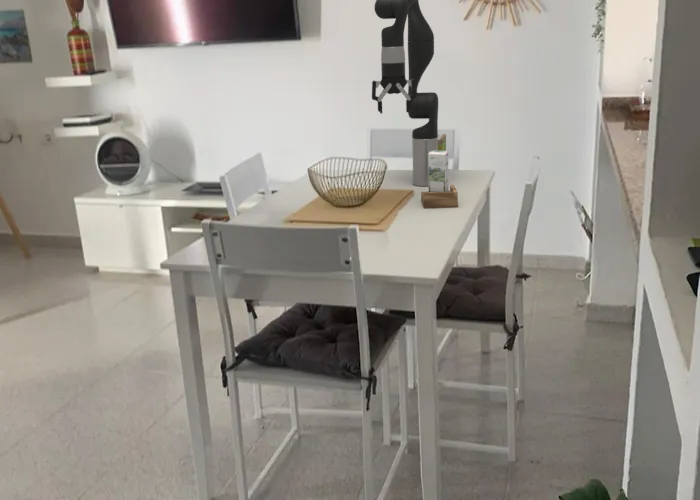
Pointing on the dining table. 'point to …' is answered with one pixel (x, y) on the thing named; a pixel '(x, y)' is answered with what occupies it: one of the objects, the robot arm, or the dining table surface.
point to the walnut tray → (440, 199)
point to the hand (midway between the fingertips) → (394, 112)
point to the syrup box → (438, 171)
